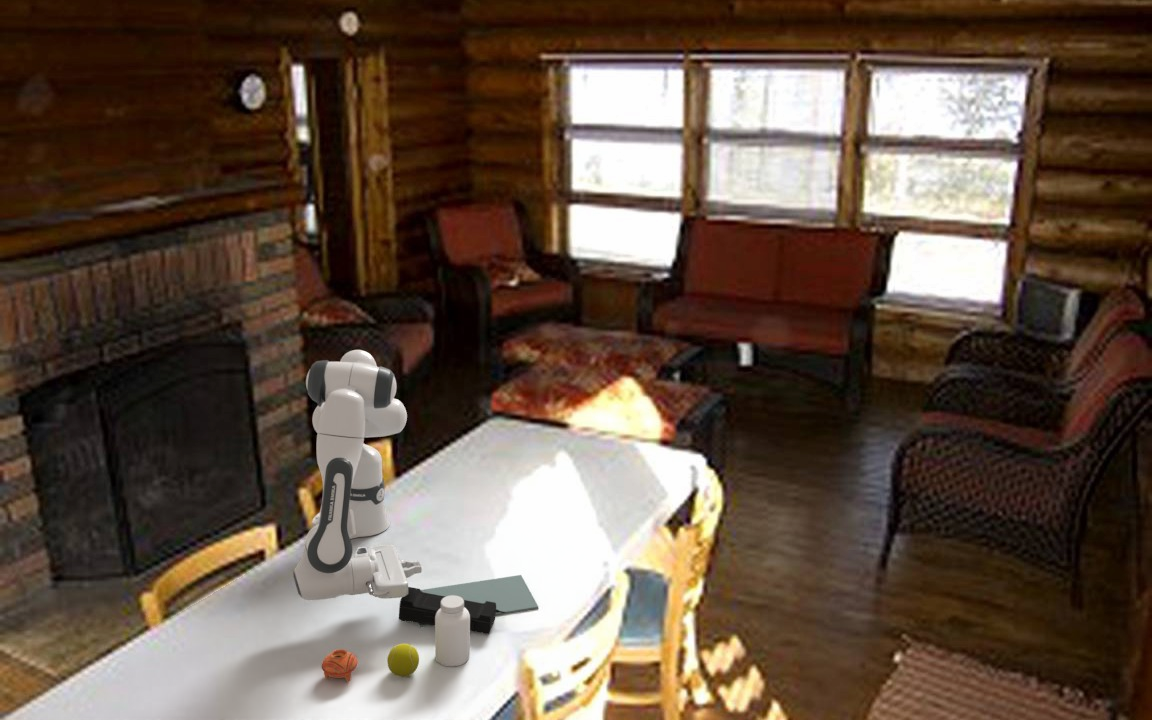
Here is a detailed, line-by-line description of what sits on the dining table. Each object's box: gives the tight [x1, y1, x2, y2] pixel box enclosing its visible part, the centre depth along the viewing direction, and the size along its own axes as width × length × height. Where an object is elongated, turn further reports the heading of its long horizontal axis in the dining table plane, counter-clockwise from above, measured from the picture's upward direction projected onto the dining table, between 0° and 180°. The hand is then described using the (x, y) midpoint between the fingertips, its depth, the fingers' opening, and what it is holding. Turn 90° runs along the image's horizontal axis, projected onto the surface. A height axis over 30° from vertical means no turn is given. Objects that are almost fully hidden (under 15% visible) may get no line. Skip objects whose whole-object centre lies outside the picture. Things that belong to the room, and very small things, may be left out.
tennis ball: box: [386, 643, 420, 678], centre depth 229 cm, size 7×7×7 cm
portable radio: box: [398, 586, 506, 635], centre depth 248 cm, size 8×6×25 cm
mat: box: [417, 574, 539, 629], centre depth 259 cm, size 30×16×1 cm, turn 109°
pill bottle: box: [434, 595, 471, 667], centre depth 234 cm, size 8×8×15 cm
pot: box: [320, 648, 359, 683], centre depth 227 cm, size 8×8×7 cm
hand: (420, 566), depth 251 cm, fingers closed
